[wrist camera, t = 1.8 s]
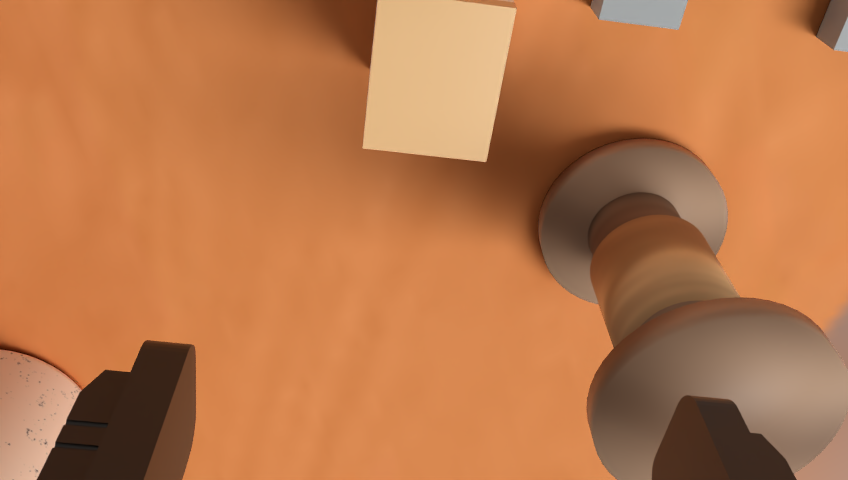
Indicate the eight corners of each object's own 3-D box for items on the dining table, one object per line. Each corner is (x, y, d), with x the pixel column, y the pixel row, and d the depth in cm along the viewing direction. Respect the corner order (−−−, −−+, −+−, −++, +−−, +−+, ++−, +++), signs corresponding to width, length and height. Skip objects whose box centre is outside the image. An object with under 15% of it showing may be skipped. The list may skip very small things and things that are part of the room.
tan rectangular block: (383, -64, 28) (378, -10, 23) (493, -49, 29) (516, 8, 23) (369, 69, 31) (362, 148, 25) (470, 81, 32) (486, 162, 26)
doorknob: (560, 128, 33) (631, 305, 23) (746, 149, 33) (896, 331, 23) (521, 285, 37) (567, 494, 27) (687, 301, 38) (792, 510, 28)
